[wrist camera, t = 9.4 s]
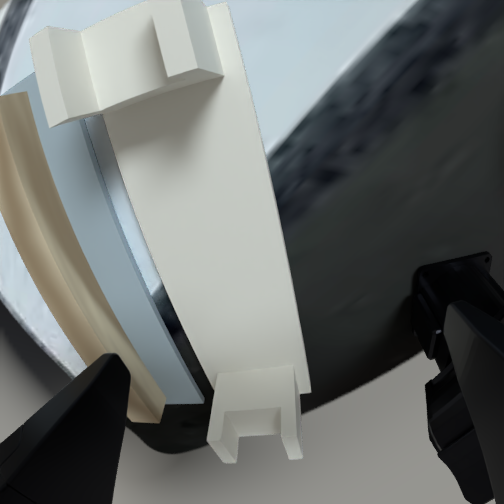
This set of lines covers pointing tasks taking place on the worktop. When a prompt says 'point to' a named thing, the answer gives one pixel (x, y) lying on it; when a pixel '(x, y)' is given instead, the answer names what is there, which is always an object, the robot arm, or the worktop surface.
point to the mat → (109, 248)
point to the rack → (195, 196)
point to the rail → (62, 256)
